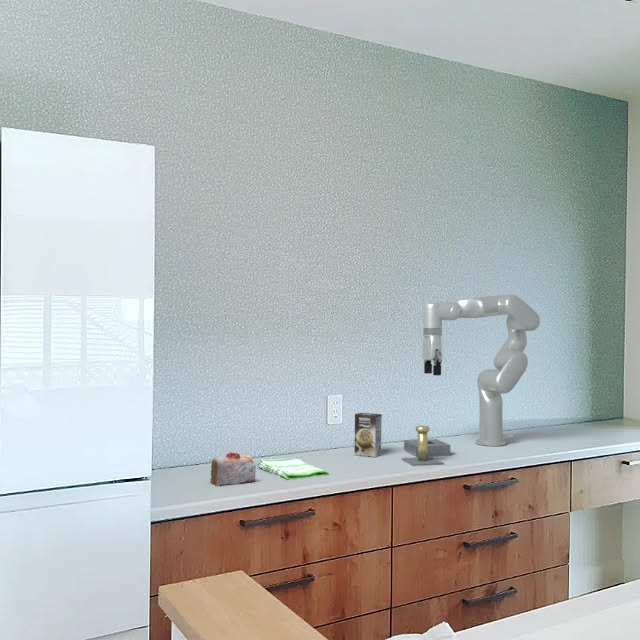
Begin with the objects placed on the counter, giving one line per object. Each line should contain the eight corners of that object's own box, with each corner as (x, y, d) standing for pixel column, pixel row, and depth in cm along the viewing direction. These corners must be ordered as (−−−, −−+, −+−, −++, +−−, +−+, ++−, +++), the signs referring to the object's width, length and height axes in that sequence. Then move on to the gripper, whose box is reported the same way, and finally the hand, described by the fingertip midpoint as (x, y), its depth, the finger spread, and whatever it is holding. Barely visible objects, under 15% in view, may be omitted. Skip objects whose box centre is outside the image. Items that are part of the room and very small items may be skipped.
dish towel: (298, 464, 263) (298, 454, 263) (330, 476, 243) (330, 466, 243) (256, 469, 254) (256, 459, 254) (285, 482, 234) (285, 471, 234)
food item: (247, 478, 238) (247, 448, 238) (257, 482, 231) (257, 452, 231) (208, 482, 231) (208, 452, 231) (218, 487, 225) (218, 456, 224)
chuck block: (436, 448, 290) (436, 439, 290) (450, 455, 276) (450, 445, 276) (404, 450, 287) (404, 440, 287) (416, 457, 273) (416, 446, 273)
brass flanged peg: (414, 459, 266) (413, 426, 266) (426, 458, 267) (426, 425, 267) (418, 461, 261) (418, 427, 261) (431, 461, 262) (431, 427, 262)
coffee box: (353, 455, 276) (353, 414, 276) (360, 452, 282) (360, 412, 282) (375, 457, 272) (375, 415, 272) (382, 454, 278) (382, 413, 278)
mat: (431, 458, 271) (431, 456, 271) (443, 464, 260) (443, 462, 260) (401, 459, 269) (401, 458, 269) (412, 465, 257) (412, 464, 257)
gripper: (416, 332, 299) (416, 372, 299) (431, 333, 282) (431, 376, 282) (433, 332, 301) (433, 372, 301) (449, 333, 284) (449, 375, 284)
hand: (432, 374), depth 292 cm, fingers open, 9 cm apart
